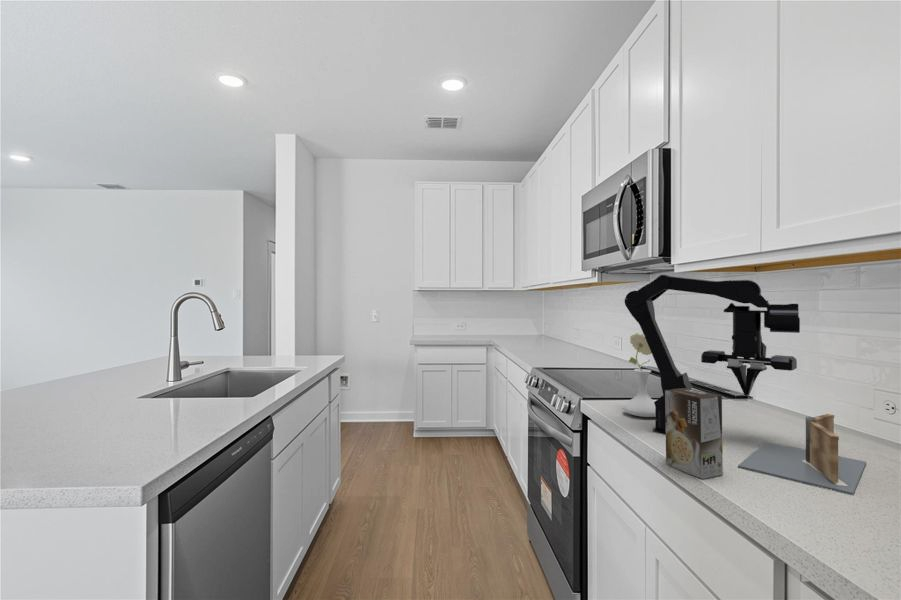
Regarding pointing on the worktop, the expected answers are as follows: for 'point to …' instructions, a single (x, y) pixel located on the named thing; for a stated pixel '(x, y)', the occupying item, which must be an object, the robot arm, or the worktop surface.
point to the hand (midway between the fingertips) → (746, 395)
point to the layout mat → (802, 467)
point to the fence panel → (824, 451)
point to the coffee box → (694, 432)
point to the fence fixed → (824, 421)
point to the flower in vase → (640, 382)
